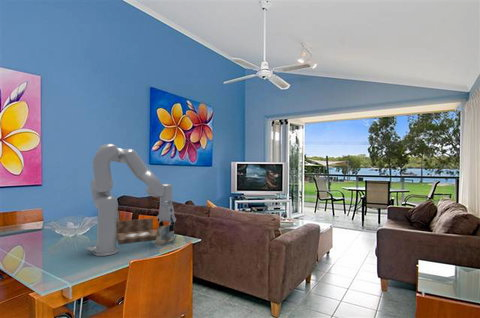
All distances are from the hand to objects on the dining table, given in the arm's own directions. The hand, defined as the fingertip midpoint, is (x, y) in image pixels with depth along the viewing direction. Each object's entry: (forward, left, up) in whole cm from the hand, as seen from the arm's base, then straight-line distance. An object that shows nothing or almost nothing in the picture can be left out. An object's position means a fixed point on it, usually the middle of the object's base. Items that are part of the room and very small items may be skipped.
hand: (166, 230), depth 171 cm
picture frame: (-1, 0, -7) cm, 7 cm away
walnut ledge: (-15, +18, -7) cm, 24 cm away
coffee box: (-29, +38, -7) cm, 48 cm away
